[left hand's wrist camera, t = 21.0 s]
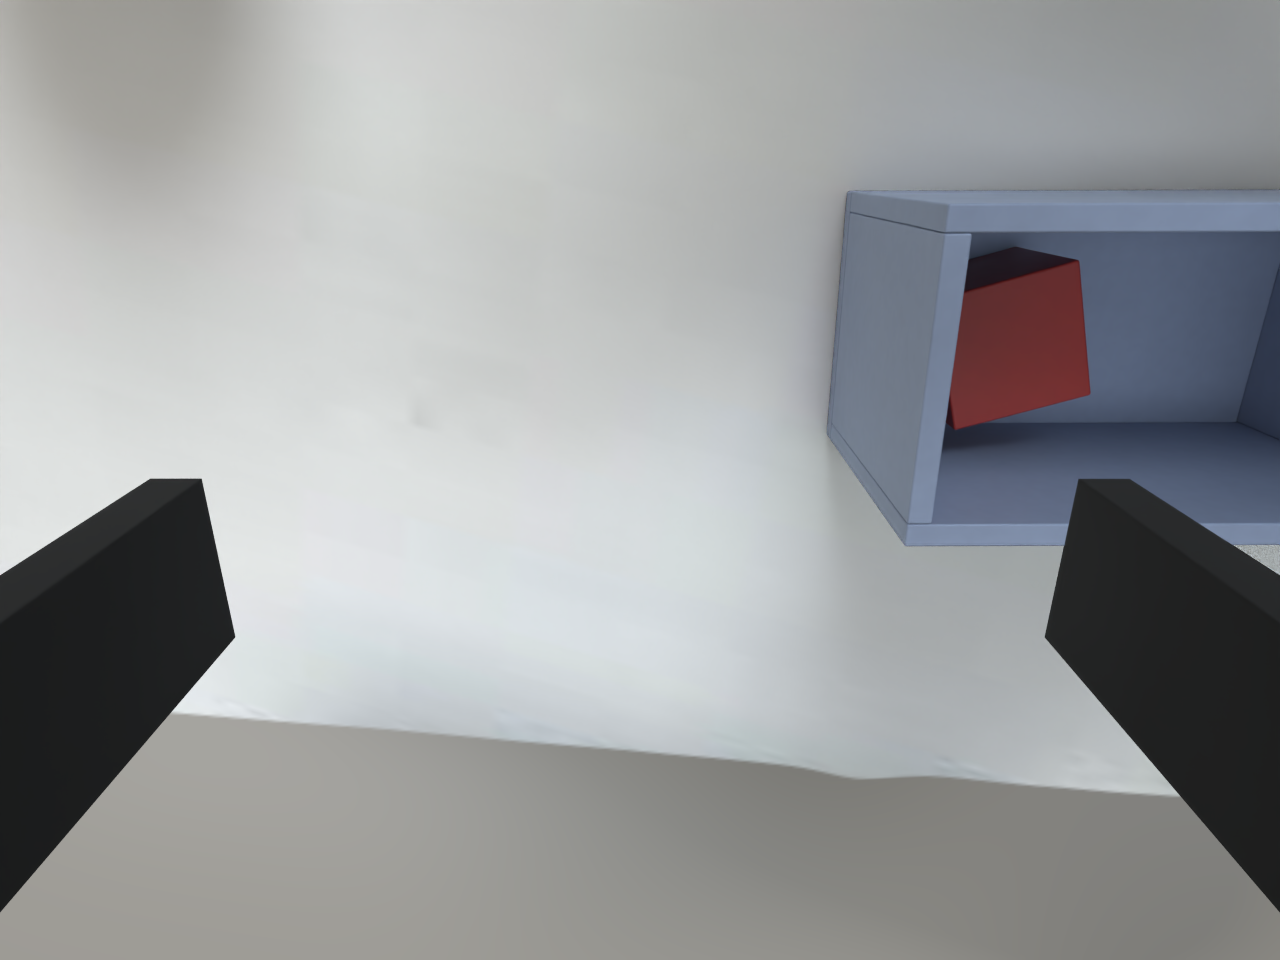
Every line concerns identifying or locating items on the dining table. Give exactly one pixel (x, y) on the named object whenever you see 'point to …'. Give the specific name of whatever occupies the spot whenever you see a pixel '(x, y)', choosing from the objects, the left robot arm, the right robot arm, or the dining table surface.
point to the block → (1018, 337)
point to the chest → (1116, 349)
